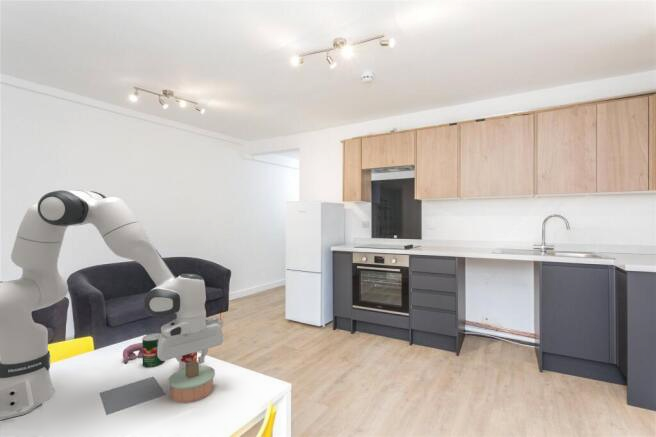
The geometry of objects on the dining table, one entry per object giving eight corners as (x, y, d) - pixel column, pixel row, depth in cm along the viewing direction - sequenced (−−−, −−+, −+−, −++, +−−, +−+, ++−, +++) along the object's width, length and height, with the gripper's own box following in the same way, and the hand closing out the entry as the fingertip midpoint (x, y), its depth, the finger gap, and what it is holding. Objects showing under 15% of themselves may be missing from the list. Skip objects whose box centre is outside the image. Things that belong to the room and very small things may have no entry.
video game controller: (150, 358, 136) (148, 341, 139) (152, 356, 133) (150, 339, 136) (122, 365, 130) (121, 347, 132) (124, 363, 127) (122, 345, 129)
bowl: (178, 408, 97) (178, 392, 97) (166, 392, 106) (166, 377, 106) (218, 393, 105) (218, 378, 105) (204, 379, 115) (204, 365, 115)
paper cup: (191, 374, 119) (190, 336, 119) (173, 372, 120) (172, 334, 120) (203, 364, 126) (203, 328, 126) (186, 362, 128) (185, 327, 128)
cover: (176, 394, 96) (176, 378, 96) (163, 377, 106) (163, 362, 106) (221, 378, 105) (221, 363, 105) (205, 364, 116) (205, 350, 116)
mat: (106, 416, 94) (106, 414, 94) (99, 394, 106) (99, 392, 106) (166, 395, 104) (166, 394, 104) (153, 377, 116) (153, 376, 116)
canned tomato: (141, 370, 122) (141, 341, 122) (142, 362, 129) (142, 335, 129) (165, 366, 125) (165, 337, 125) (165, 358, 132) (164, 331, 132)
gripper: (218, 314, 115) (218, 353, 115) (155, 328, 101) (155, 371, 102) (226, 318, 110) (226, 359, 110) (160, 333, 97) (161, 379, 97)
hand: (192, 365), depth 106 cm, fingers open, 5 cm apart
